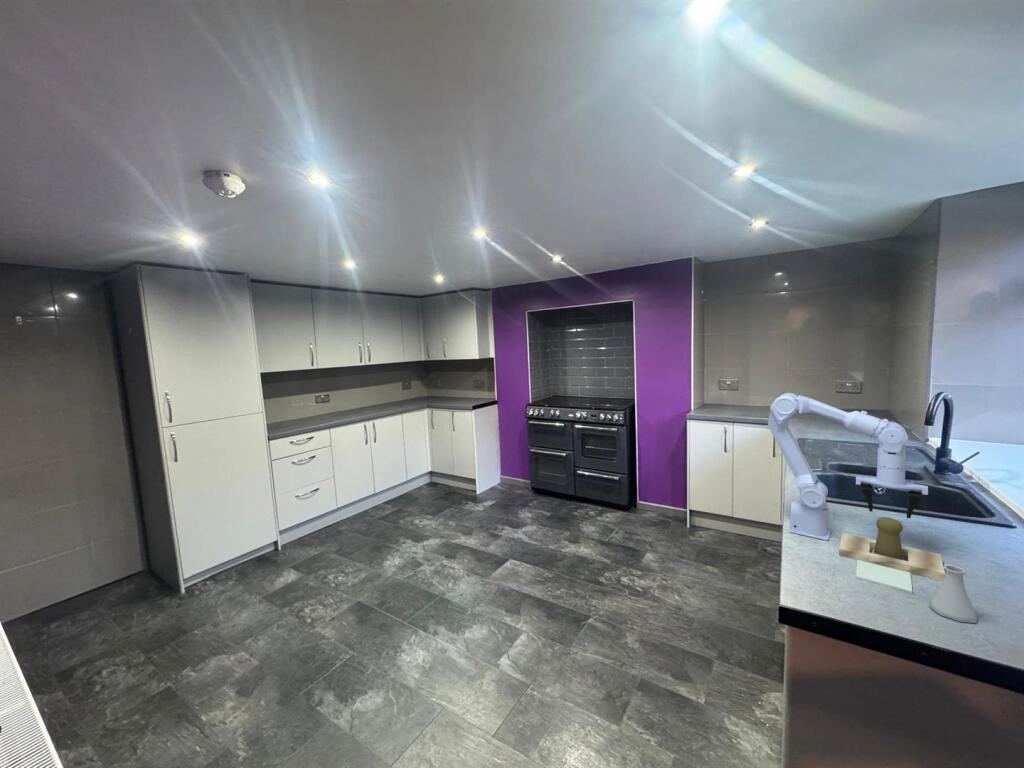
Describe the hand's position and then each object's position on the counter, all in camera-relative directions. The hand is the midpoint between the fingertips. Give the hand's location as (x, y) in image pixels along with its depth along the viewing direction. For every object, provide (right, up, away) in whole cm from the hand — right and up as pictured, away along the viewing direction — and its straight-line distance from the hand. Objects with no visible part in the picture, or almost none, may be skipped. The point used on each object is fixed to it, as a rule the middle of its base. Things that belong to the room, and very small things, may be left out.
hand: (889, 513), depth 112 cm
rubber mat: (-13, -12, -12) cm, 21 cm away
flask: (-11, -13, -26) cm, 31 cm away
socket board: (-4, -11, -4) cm, 12 cm away
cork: (-4, -11, -4) cm, 12 cm away
